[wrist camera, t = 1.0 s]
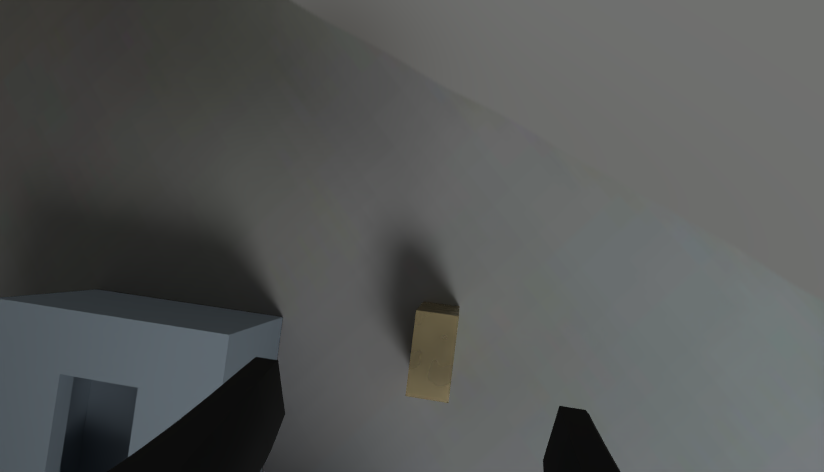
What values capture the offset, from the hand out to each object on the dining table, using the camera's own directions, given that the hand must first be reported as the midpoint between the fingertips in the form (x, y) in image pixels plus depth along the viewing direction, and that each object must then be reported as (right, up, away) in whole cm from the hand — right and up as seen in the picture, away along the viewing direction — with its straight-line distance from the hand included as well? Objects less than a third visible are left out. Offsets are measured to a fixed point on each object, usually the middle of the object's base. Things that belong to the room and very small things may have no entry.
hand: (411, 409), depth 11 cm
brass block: (+1, -1, +13) cm, 13 cm away
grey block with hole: (-14, -6, +14) cm, 21 cm away
